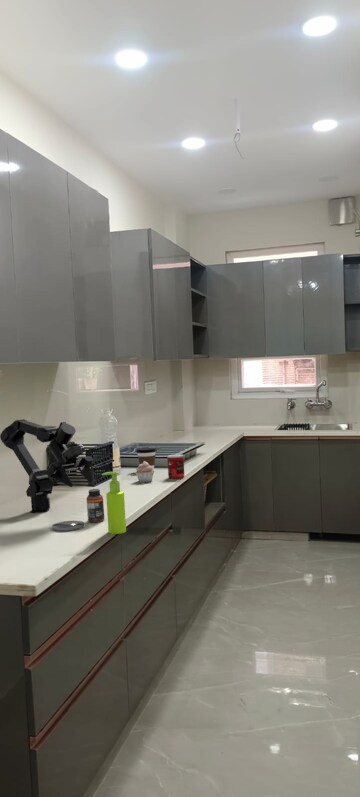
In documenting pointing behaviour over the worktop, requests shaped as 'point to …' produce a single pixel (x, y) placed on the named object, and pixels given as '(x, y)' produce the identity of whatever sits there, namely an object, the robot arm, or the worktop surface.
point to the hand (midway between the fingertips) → (81, 484)
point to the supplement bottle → (95, 506)
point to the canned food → (175, 466)
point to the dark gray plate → (68, 526)
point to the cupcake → (144, 472)
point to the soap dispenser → (115, 506)
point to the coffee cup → (147, 456)
